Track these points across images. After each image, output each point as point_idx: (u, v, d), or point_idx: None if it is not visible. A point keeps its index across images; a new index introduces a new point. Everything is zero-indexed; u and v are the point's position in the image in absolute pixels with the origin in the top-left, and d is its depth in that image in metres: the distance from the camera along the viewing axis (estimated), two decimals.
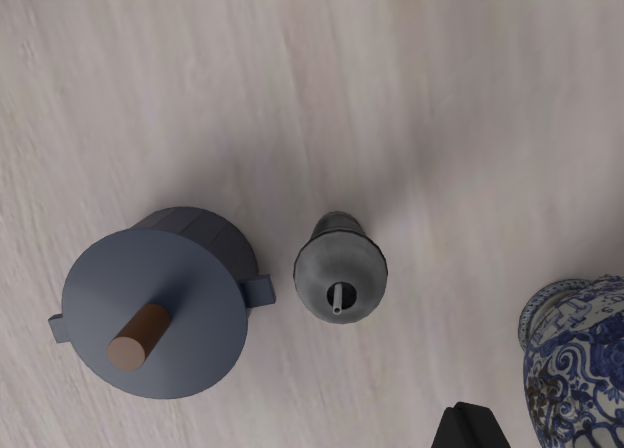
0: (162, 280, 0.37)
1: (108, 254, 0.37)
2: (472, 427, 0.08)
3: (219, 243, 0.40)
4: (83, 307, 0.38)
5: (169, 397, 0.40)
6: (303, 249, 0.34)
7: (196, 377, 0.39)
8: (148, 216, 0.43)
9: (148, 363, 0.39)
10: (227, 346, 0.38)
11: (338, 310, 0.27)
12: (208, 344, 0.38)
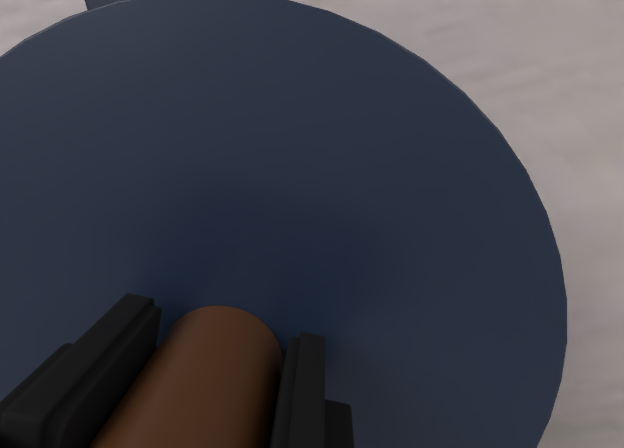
0: (370, 400, 0.11)
1: (481, 229, 0.10)
2: (299, 348, 0.09)
3: None
4: (253, 98, 0.09)
5: None
6: None
7: None
8: None
9: (37, 323, 0.10)
10: None
11: None
12: None
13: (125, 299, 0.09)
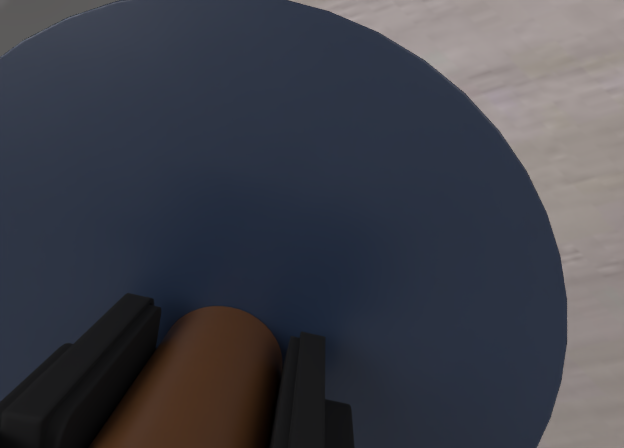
0: (370, 401, 0.11)
1: (481, 229, 0.10)
2: (299, 348, 0.09)
3: None
4: (253, 98, 0.09)
5: None
6: None
7: None
8: None
9: (37, 323, 0.10)
10: None
11: None
12: None
13: (125, 299, 0.09)
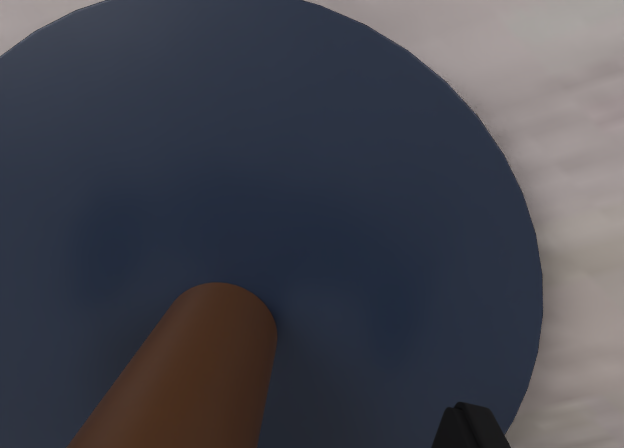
0: (359, 372, 0.11)
1: (462, 209, 0.10)
2: (472, 427, 0.08)
3: None
4: (250, 86, 0.10)
5: None
6: None
7: (23, 438, 0.12)
8: None
9: (46, 300, 0.11)
10: None
11: None
12: None
13: None
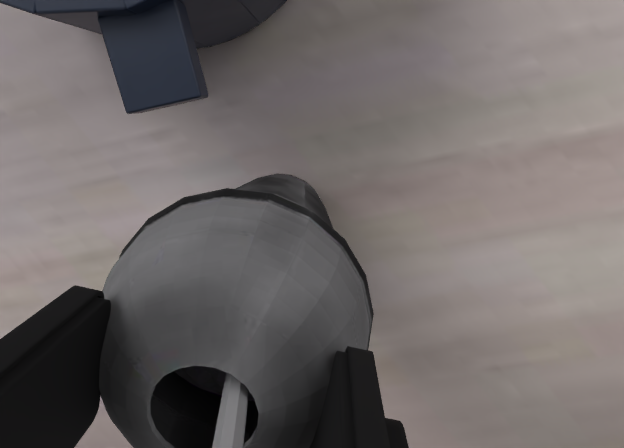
0: None
1: None
2: (349, 364, 0.09)
3: None
4: None
5: None
6: (317, 223, 0.11)
7: None
8: None
9: None
10: None
11: None
12: None
13: (70, 291, 0.09)
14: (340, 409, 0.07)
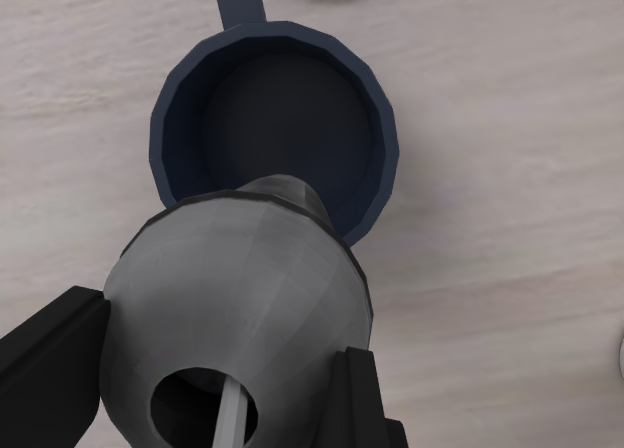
0: None
1: None
2: (349, 364, 0.09)
3: None
4: None
5: None
6: (317, 224, 0.11)
7: None
8: None
9: None
10: None
11: None
12: None
13: (70, 291, 0.09)
14: (340, 409, 0.07)
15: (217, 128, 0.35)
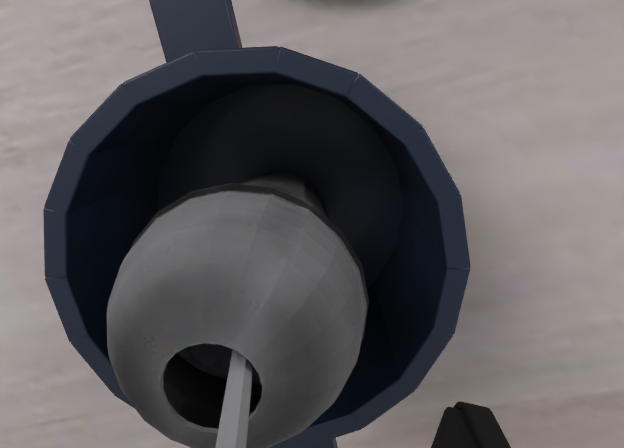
0: None
1: None
2: (472, 427, 0.08)
3: None
4: None
5: None
6: (316, 216, 0.12)
7: None
8: None
9: None
10: None
11: None
12: None
13: None
14: None
15: (179, 192, 0.24)
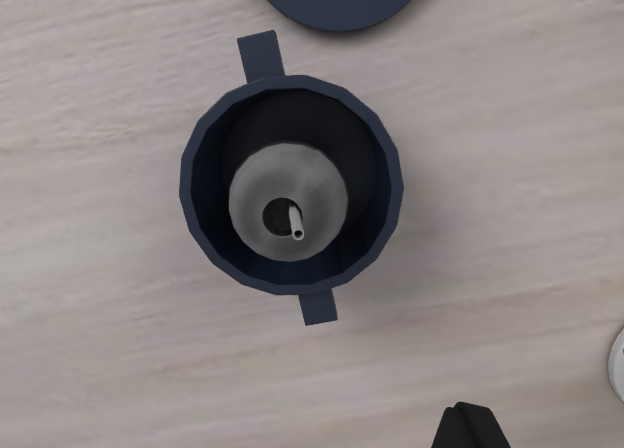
0: None
1: None
2: (472, 427, 0.08)
3: None
4: None
5: None
6: (323, 155, 0.26)
7: None
8: None
9: None
10: (307, 6, 0.34)
11: (293, 233, 0.20)
12: None
13: None
14: None
15: (235, 159, 0.38)
